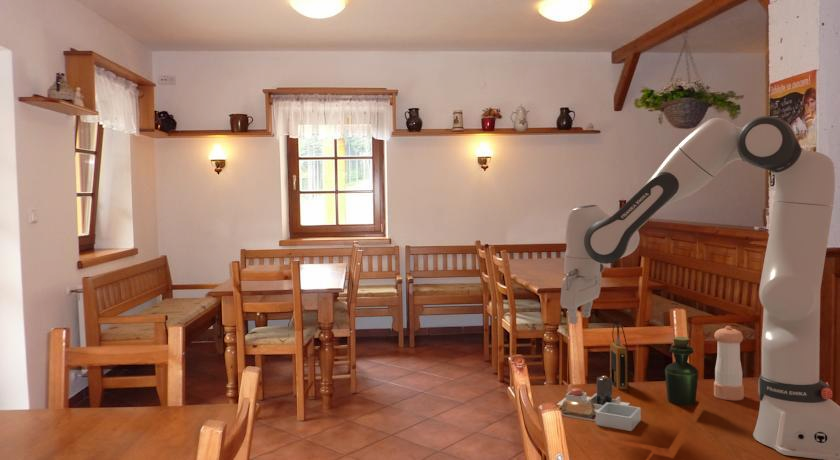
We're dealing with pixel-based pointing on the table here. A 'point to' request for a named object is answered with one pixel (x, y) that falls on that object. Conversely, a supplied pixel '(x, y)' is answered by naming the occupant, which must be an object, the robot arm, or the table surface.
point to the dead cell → (604, 390)
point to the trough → (578, 416)
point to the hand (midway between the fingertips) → (579, 320)
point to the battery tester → (589, 400)
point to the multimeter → (619, 362)
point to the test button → (576, 392)
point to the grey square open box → (618, 416)
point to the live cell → (578, 409)
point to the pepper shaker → (728, 365)
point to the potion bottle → (681, 375)
